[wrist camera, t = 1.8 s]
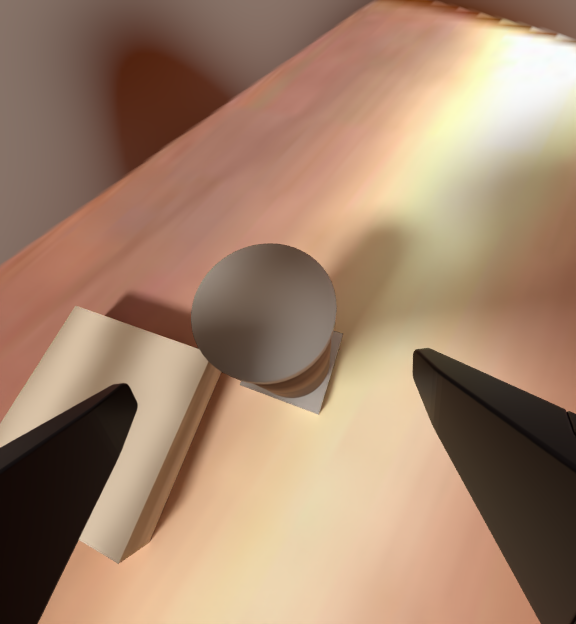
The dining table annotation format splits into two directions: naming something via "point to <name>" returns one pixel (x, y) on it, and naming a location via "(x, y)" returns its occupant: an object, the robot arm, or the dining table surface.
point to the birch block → (145, 427)
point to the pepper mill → (270, 322)
